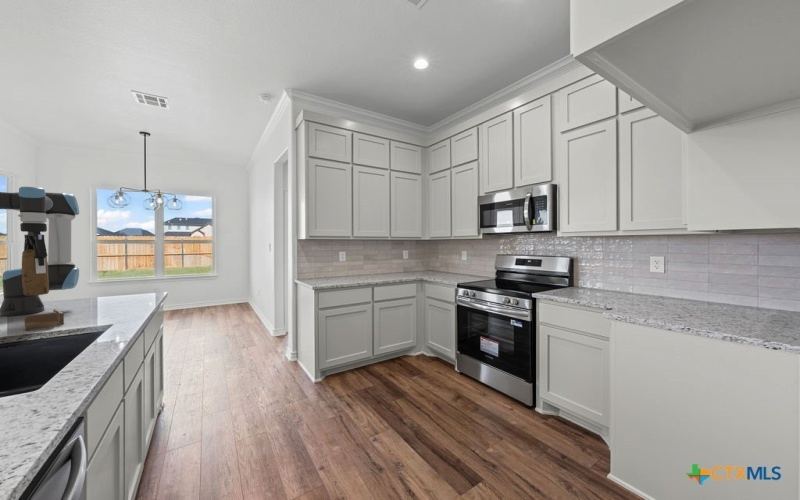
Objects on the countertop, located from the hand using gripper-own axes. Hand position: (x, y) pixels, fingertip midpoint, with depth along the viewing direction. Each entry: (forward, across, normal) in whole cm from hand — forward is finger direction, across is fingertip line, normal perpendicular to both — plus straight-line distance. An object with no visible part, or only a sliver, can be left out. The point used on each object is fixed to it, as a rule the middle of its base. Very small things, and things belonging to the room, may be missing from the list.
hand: (35, 272), depth 138 cm
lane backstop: (+24, +6, -1) cm, 25 cm away
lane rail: (+24, -1, +7) cm, 25 cm away
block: (+10, 0, 0) cm, 10 cm away
